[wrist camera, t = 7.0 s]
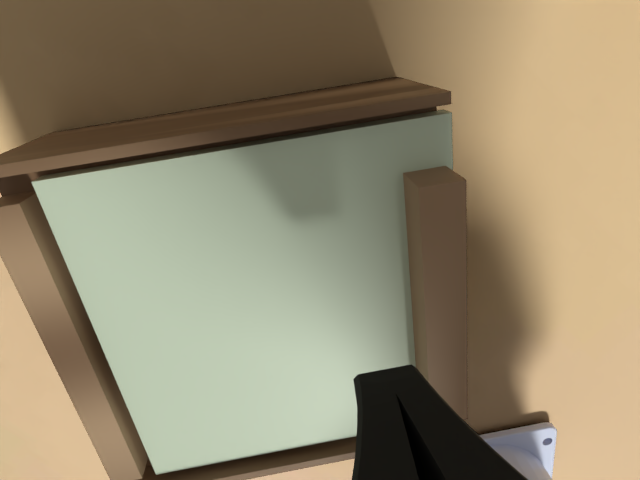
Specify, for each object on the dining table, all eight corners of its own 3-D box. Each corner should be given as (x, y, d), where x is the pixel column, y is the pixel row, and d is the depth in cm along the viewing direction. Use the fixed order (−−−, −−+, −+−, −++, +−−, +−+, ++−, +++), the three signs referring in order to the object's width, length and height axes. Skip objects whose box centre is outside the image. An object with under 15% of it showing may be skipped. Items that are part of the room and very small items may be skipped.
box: (414, 349, 21) (457, 438, 16) (155, 398, 20) (122, 503, 16) (396, 77, 16) (451, 91, 11) (52, 132, 15) (-42, 171, 11)
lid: (451, 404, 17) (473, 448, 15) (159, 460, 16) (146, 512, 14) (443, 109, 12) (474, 121, 10) (42, 175, 12) (1, 199, 10)
